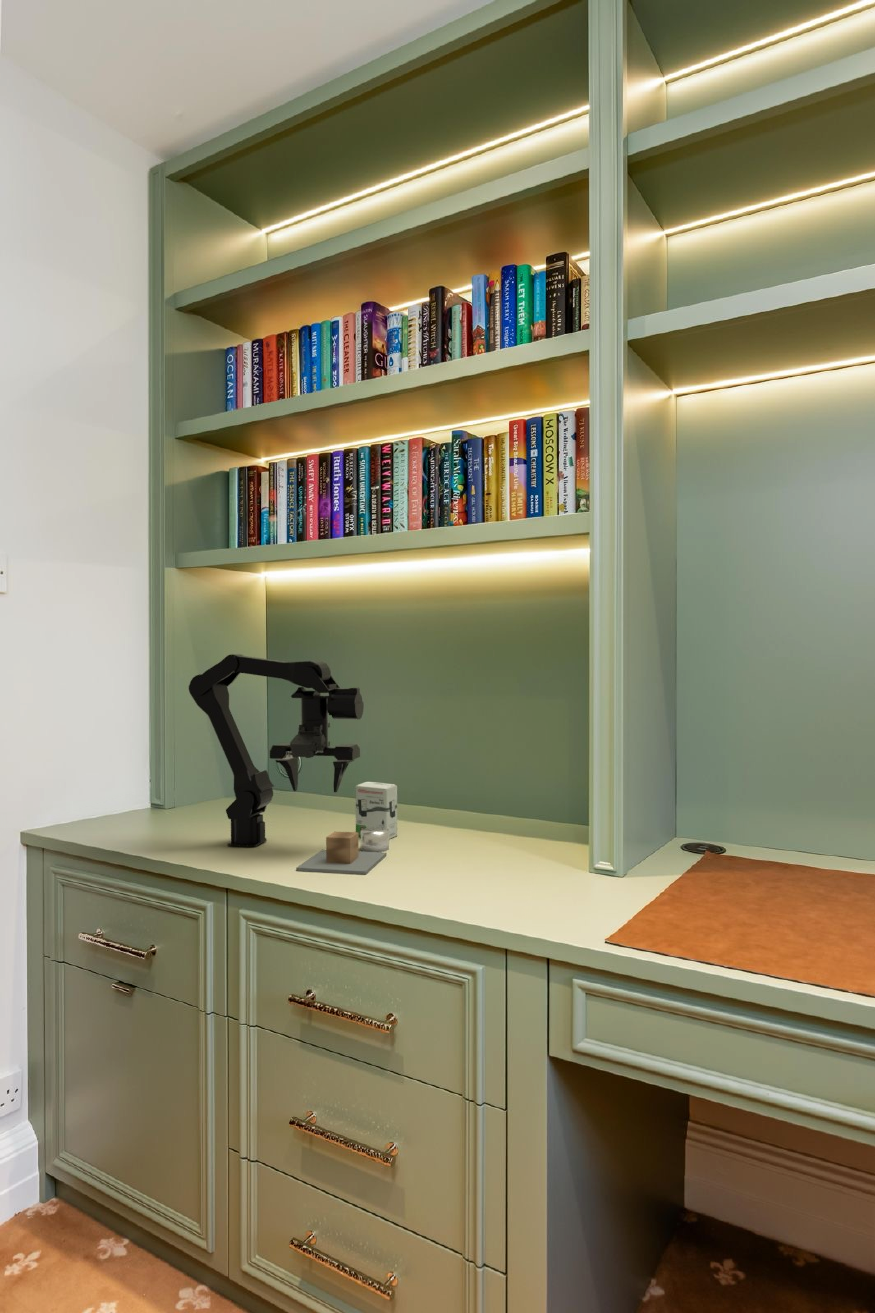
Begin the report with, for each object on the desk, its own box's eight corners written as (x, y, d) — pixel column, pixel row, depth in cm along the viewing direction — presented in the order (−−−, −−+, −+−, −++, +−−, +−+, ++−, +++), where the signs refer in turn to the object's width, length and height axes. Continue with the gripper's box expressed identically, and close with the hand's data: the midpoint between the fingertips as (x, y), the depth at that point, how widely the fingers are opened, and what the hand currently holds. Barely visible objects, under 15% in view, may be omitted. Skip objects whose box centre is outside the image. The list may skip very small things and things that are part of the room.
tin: (357, 852, 168) (356, 833, 168) (365, 845, 174) (365, 826, 174) (384, 853, 166) (384, 834, 166) (392, 846, 172) (392, 828, 172)
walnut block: (326, 862, 157) (326, 837, 157) (335, 856, 162) (334, 831, 162) (350, 863, 156) (350, 838, 156) (358, 857, 161) (358, 832, 161)
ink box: (354, 836, 181) (354, 784, 181) (366, 832, 186) (365, 781, 186) (387, 840, 177) (386, 787, 177) (398, 835, 182) (398, 783, 181)
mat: (296, 870, 154) (296, 867, 154) (322, 852, 167) (322, 849, 167) (365, 874, 151) (365, 871, 151) (386, 855, 164) (386, 852, 164)
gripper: (258, 722, 166) (258, 797, 166) (343, 723, 162) (344, 800, 162) (279, 717, 177) (280, 787, 177) (360, 718, 173) (361, 790, 173)
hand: (315, 791), depth 172 cm, fingers open, 9 cm apart
